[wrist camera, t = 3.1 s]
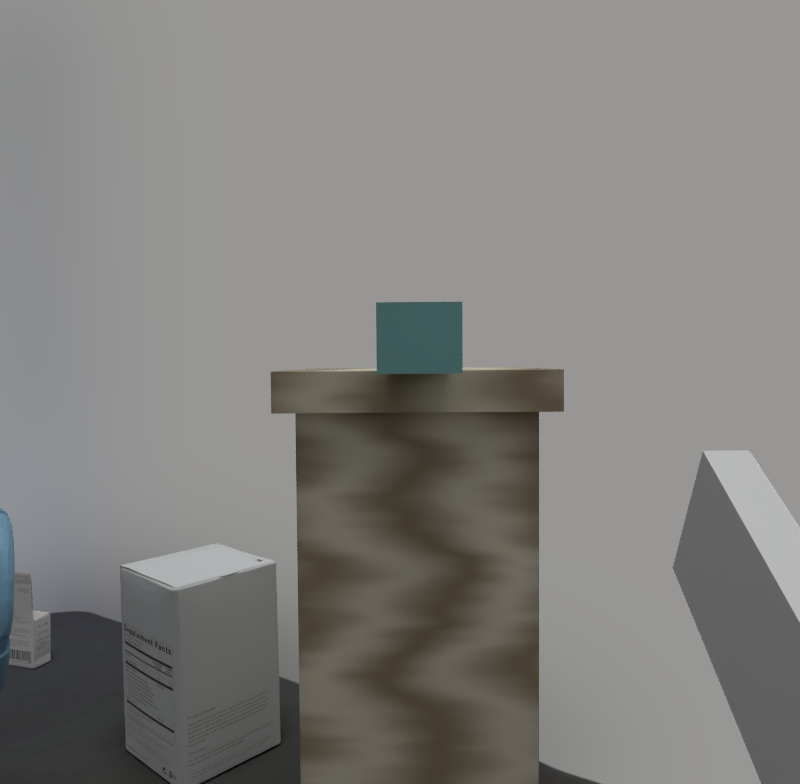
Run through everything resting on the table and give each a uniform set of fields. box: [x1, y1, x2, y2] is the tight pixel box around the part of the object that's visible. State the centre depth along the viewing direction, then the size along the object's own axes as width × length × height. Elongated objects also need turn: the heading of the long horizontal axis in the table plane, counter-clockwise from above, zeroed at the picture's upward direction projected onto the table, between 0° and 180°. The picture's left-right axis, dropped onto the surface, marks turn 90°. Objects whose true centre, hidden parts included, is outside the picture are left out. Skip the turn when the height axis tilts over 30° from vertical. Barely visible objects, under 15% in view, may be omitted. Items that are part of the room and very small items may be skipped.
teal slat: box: [376, 302, 462, 374], centre depth 37 cm, size 3×24×2 cm, turn 179°
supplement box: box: [120, 544, 281, 784], centre depth 56 cm, size 9×9×15 cm
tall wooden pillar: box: [271, 367, 564, 784], centre depth 42 cm, size 14×16×30 cm
